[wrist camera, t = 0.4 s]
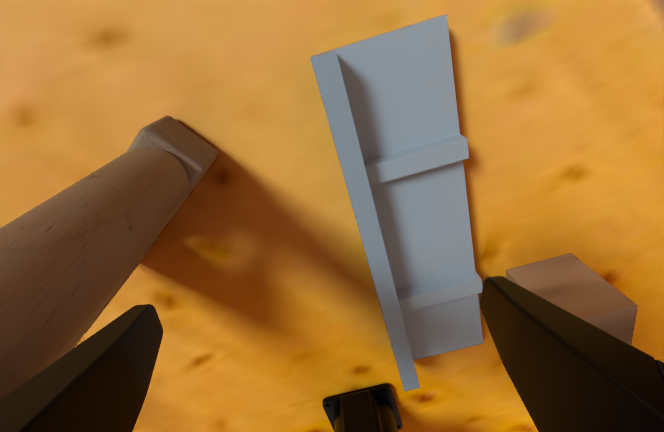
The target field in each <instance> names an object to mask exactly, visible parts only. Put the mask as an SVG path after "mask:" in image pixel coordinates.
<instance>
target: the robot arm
mask: <svg viewBox="0 0 664 432" xmlns="http://www.w3.org/2000/svg"><path fill="white" fill-rule="evenodd" d="M480 307H481V311H482V313H483V316H484V318H485V321H486V323H487V326H488V328H489V331H490V333H491V336H492V338H493V341H494V343H495V346H496V348H497V351H498V353H499V356H500V358H501V360H502V363H503V365H504V367H505V369H506V371H507V373H508V375H509V377H510V378H511V380H512V382H513V384H514V386H515V388H516V390H517V392H518V394H519V395H520V397H521V399H522V401H523V403H524V405H525V407H526V409H527V411H528V412H529V414H530V416H531V418H532V420H533V422H534V424H535V426H536V428H537V429H538V431H539V432H664V363H663V362H661V361H660V360H655V359H654V358H653V357H652V356H650V355H648V354H646V353H644V352H643V351H641V350H639V349H637V348H635V347H633V346H631V345H629V344H628V343H626V342H624V341H622V340H620V339H618V338H616V337H615V336H613V335H611V334H609V333H607V332H605V331H603V330H602V329H600V328H598V327H596V326H594V325H592V324H590V323H589V322H587V321H585V320H583V319H581V318H579V317H577V316H575V315H574V314H572V313H570V312H568V311H566V310H564V309H562V308H561V307H559V306H557V305H555V304H553V303H551V302H549V301H548V300H546V299H544V298H542V297H540V296H538V295H536V294H534V293H533V292H531V291H529V290H527V289H525V288H523V287H521V286H520V285H518V284H516V283H514V282H512V281H510V280H508V279H507V278H505V277H502V276H494V277H487V278H486V279H485V280H484V283H483V288H482V294H481V299H480ZM162 336H163V328H162V325H161V322H160V320H159V317H158V315H157V312H156V309H155V307H154V306H153V305H151V304H146V305H136V306H134V307H132V308H131V309H129V310H128V311H127V312H125V313H124V314H122V315H121V316H119V317H118V318H117V319H115V320H114V321H112V322H111V323H109V324H108V325H107V326H105V327H104V328H102V329H101V330H99V331H98V332H97V333H95V334H94V335H92V336H91V337H89V338H88V339H87V340H85V341H84V342H82V343H81V344H79V345H78V346H77V347H75V348H74V349H72V350H71V351H69V352H68V353H67V354H65V355H64V356H62V357H61V358H60V359H58V360H57V361H55V362H54V363H52V364H51V365H50V366H48V367H47V368H45V369H44V370H42V371H41V372H40V373H38V374H37V375H35V376H34V377H32V378H31V379H30V380H28V381H27V382H25V383H24V384H22V385H21V386H20V387H18V388H17V389H15V390H14V391H12V392H11V393H10V394H8V395H7V396H5V397H4V398H2V399H1V400H0V432H132V431H133V428H134V426H135V423H136V421H137V418H138V416H139V413H140V410H141V408H142V405H143V403H144V400H145V397H146V394H147V391H148V388H149V384H150V381H151V377H152V373H153V370H154V366H155V362H156V359H157V355H158V351H159V348H160V344H161V340H162ZM323 408H324V410H325V412H326V414H327V416H328V419H329V421H330V423H331V425H332V427H333V429H334V432H398V430H400V429H401V428H402V422H401V419H400V415H399V412H398V409H397V406H396V402H395V399H394V396H393V393H392V389H391V386H390V385H389V384H382V385H378V386H374V387H370V388H366V389H361V390H357V391H353V392H349V393H345V394H341V395H336V396H332V397H328V398H325V399H323Z"/></svg>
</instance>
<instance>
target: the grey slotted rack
mask: <svg viewBox="0 0 664 432" xmlns="http://www.w3.org/2000/svg"><path fill="white" fill-rule="evenodd" d="M311 61H312V65H313V68H314V72H315V75H316V79H317V82H318V86H319V90H320V93H321V97H322V100H323V104H324V107H325V111H326V114H327V118H328V121H329V125H330V129H331V132H332V136H333V139H334V143H335V146H336V150H337V153H338V157H339V160H340V164H341V168H342V171H343V175H344V178H345V182H346V185H347V189H348V192H349V196H350V199H351V203H352V207H353V210H354V214H355V217H356V221H357V224H358V228H359V231H360V235H361V238H362V242H363V246H364V249H365V253H366V256H367V260H368V263H369V267H370V270H371V274H372V277H373V281H374V285H375V288H376V292H377V295H378V299H379V302H380V306H381V309H382V313H383V316H384V320H385V324H386V327H387V331H388V334H389V338H390V341H391V345H392V348H393V352H394V355H395V359H396V363H397V366H398V370H399V373H400V377H401V380H402V384H403V387H404V391H408V390H413V389H417V388H420V386H419V382H418V378H417V374H416V370H415V366H414V362H413V360H417V359H421V358H425V357H429V356H433V355H438V354H442V353H446V352H450V351H454V350H458V349H462V348H466V347H471V346H475V345H479V344H483V335H482V326H481V317H480V308H479V299H478V294H479V293H482V279H481V278H480V276H479V275H478V274H477V272H476V271H475V263H474V254H473V245H472V236H471V227H470V218H469V209H468V200H467V191H466V183H465V174H464V165H463V160H464V159H468V158H469V152H468V143H467V138H466V137H464V136H462V135H461V134H460V129H459V120H458V111H457V102H456V93H455V84H454V75H453V66H452V57H451V48H450V39H449V30H448V21H447V15H443V16H439V17H435V18H432V19H429V20H426V21H422V22H419V23H416V24H413V25H410V26H407V27H403V28H400V29H397V30H394V31H391V32H387V33H384V34H381V35H378V36H375V37H372V38H368V39H365V40H362V41H359V42H356V43H353V44H349V45H346V46H343V47H340V48H337V49H333V50H330V51H327V52H324V53H321V54H318V55H314V56H311Z"/></svg>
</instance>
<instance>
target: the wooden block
mask: <svg viewBox="0 0 664 432" xmlns="http://www.w3.org/2000/svg"><path fill="white" fill-rule="evenodd" d="M217 156H218V151H217V150H216V149H215V148H214V147H212V146H211V145H210V144H208V143H207V142H205V141H204V140H203V139H201V138H200V137H198V136H197V135H196V134H194V133H193V132H191V131H190V130H189V129H187V128H186V127H184V126H183V125H182V124H180V123H179V122H177V121H176V120H175V119H173V118H172V117H170V116H165V117H163V118H161V119H159V120H157V121H155V122H154V123H152V124H150V125H148V126H146V127H144V128H142V129H141V130H140V131H139V133H138V135H137V136H136V138H135V139H134V141H133V143H132V144H131V146H130V148H129V149H128V151H127V152H126V153H125V154H123V155H121V156H120V157H118V158H116V159H115V160H113V161H111V162H110V163H108V164H106V165H105V166H103V167H101V168H100V169H98V170H96V171H95V172H93V173H91V174H90V175H88V176H86V177H85V178H83V179H81V180H80V181H78V182H77V183H75V184H73V185H72V186H70V187H68V188H67V189H65V190H63V191H62V192H60V193H58V194H57V195H55V196H53V197H52V198H50V199H48V200H47V201H45V202H43V203H42V204H40V205H38V206H37V207H35V208H33V209H32V210H30V211H28V212H27V213H25V214H24V215H22V216H20V217H19V218H17V219H15V220H14V221H12V222H10V223H9V224H7V225H5V226H4V227H2V228H0V400H1V399H2V398H4V397H5V396H7V395H8V394H10V393H11V392H12V391H14V390H15V389H17V388H18V387H20V386H21V385H22V384H24V383H25V382H27V381H28V380H30V379H31V378H32V377H34V376H35V375H37V374H38V373H40V372H41V371H42V370H44V369H45V368H47V367H48V366H50V365H51V364H52V363H54V362H55V361H57V360H58V359H60V358H61V357H62V356H64V355H65V354H67V353H68V352H69V351H71V350H72V349H73V348H74V347H75V346H76V344H77V343H78V342H79V340H80V339H81V338H82V336H83V335H84V333H86V332H87V331H88V330H89V328H90V327H91V326H92V324H93V323H94V322H95V320H96V319H97V318H98V317H99V315H100V314H101V313H102V311H103V310H104V309H105V307H106V306H107V305H108V304H109V302H110V301H111V300H112V298H113V297H114V296H115V295H116V293H117V292H118V291H119V289H120V288H121V287H122V285H123V284H124V283H125V282H126V280H127V279H128V278H129V276H130V275H131V274H132V272H133V271H134V270H135V269H136V267H137V266H138V265H139V263H140V262H141V261H142V259H143V258H144V257H145V255H146V254H147V252H148V251H149V250H150V248H151V247H152V246H153V244H154V243H155V241H156V240H157V239H158V237H159V236H160V233H161V232H162V230H163V229H164V228H165V227H166V225H167V224H168V223H169V221H170V220H171V219H172V218H173V216H174V215H175V214H176V212H177V211H178V210H179V208H180V207H181V206H182V204H183V203H184V202H185V200H186V199H187V197H188V196H189V195H190V193H191V192H192V191H193V189H194V188H195V187H196V185H197V184H198V182H199V181H200V180H201V178H202V177H203V176H204V174H205V173H206V171H207V170H208V169H209V167H210V166H211V165H212V163H213V162H214V160H215V159H216V158H217Z"/></svg>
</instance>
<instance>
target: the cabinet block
mask: <svg viewBox="0 0 664 432" xmlns="http://www.w3.org/2000/svg"><path fill="white" fill-rule="evenodd" d="M506 278H507V279H508V280H510V281H512V282H514V283H516V284H518V285H520V286H521V287H523V288H525V289H527V290H529V291H531V292H533V293H534V294H536V295H538V296H540V297H542V298H544V299H546V300H548V301H549V302H551V303H553V304H555V305H557V306H559V307H561V308H562V309H564V310H566V311H568V312H570V313H572V314H574V315H575V316H577V317H579V318H581V319H583V320H585V321H587V322H589V323H590V324H592V325H594V326H596V327H598V328H600V329H602V330H603V331H605V332H607V333H609V334H611V335H613V336H615V337H616V338H618V339H620V340H622V341H624V342H626V343H628V344H629V345H631V343H632V337H633V331H634V324H635V318H636V312H637V305H636V304H635V303H634V302H632V301H631V300H630V299H629V298H627V297H626V296H625V295H624V294H622V293H621V292H620V291H618V290H617V289H616V288H615V287H613V286H612V285H611V284H610V283H608V282H607V281H606V280H604V279H603V278H602V277H601V276H599V275H598V274H597V273H596V272H594V271H593V270H592V269H590V268H589V267H588V266H587V265H585V264H584V263H583V262H582V261H580V260H579V259H578V258H576V257H575V256H574V255H573V254H571V253H570V254H566V255H562V256H558V257H554V258H551V259H547V260H543V261H539V262H535V263H531V264H527V265H523V266H519V267H515V268H512V269H508V270H506Z"/></svg>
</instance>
